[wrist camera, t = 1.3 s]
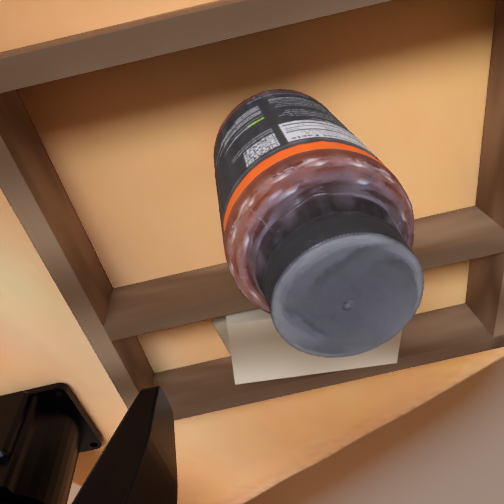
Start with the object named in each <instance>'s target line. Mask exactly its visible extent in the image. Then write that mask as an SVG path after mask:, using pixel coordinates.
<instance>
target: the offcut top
mask: <svg viewBox="0 0 504 504" xmlns="http://www.w3.org/2000/svg"><path fill="white" fill-rule="evenodd" d="M226 321H227V330H228V337H229V344H230V351H231V358H232V365H233V372H234V380H235V385H236V384H244V383H251V382H259V381H266V380H274V379H281V378H289V377H296V376H304V375H311V374H319V373H326V372H334V371H341V370H349V369H356V368H364V367H371V366H379V365H386V364H394V363H397V359H398V353H399V346H400V340H401V333H402V331H400V332H399V333H398V334H397V335H395V336H394V337H393V338H392V339H390V340H389V341H387V342H386V343H383V344H381V345H380V346H378V347H377V348H374V349H372V350H369V351H367V352H364V353H361V354H358V355H354V356H346V357H336V358H326V357H318V356H315V355H310V354H306V353H304V352H301V351H298V350H297V349H296V348H294V347H292V346H291V345H289V344H288V343H287V342H286V341H285V340H284V339H283V338H282V337H281V336H280V334H279V333H278V332H277V330H276V328H275V326H274V324H273V321H272V318H271V314H269V313H267V312H265V311H263V310H261V309H260V308H255V309H250V310H246V311H241V312H237V313H233V314H228V315H226Z"/></svg>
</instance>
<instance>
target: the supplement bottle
mask: <svg viewBox="0 0 504 504" xmlns="http://www.w3.org/2000/svg"><path fill="white" fill-rule="evenodd" d="M214 167H215V178H216V186H217V194H218V202H219V212H220V218H221V226H222V234H223V242H224V250H225V256H226V260H227V264H228V267H229V270H230V273H231V275H232V277H233V279H234V281H235V283H236V284H237V286H238V288H239V289H240V290H241V291H242V293H243V294H244V295H245V296H246V297H247V298H248V299H249V300H250V301H251V302H252V303H253V304H254V305H256V306H257V307H258V308H260V309H261V310H263V311H265V312H267V313H269V314H271V318H272V321H273V324H274V326H275V328H276V330H277V332H278V333H279V334H280V336H281V337H282V338H283V339H284V340H285V341H286V342H287V343H288V344H289V345H291V346H292V347H294V348H296V349H297V350H298V351H301V352H304V353H306V354H310V355H315V356H318V357H326V358H336V357H346V356H354V355H358V354H361V353H364V352H367V351H369V350H372V349H374V348H377V347H378V346H380V345H381V344H383V343H386V342H387V341H389V340H390V339H392V338H393V337H394V336H395V335H397V334H398V333H399V332H400V331H402V329H403V328H404V327H405V326H406V325H407V324H408V322H409V321H410V320H411V319H412V317H413V316H414V314H415V312H416V311H417V309H418V307H419V305H420V302H421V299H422V295H423V284H424V278H423V277H424V276H423V271H422V268H421V265H420V263H419V261H418V259H417V257H416V256H415V255H414V253H413V252H412V246H413V242H414V234H415V224H414V215H413V210H412V205H411V202H410V200H409V198H408V196H407V194H406V192H405V190H404V189H403V187H402V185H401V184H400V182H399V181H398V180H397V178H396V177H395V176H394V175H393V174H392V173H391V171H390V170H389V169H388V168H387V167H386V166H385V165H384V164H383V163H382V162H381V161H380V160H379V159H378V158H377V157H376V156H375V155H374V154H373V153H372V152H371V151H370V150H369V149H368V148H367V147H366V146H365V145H364V144H363V143H362V142H360V141H359V140H358V139H357V138H356V137H355V136H354V135H353V134H352V133H351V132H350V131H349V130H348V129H347V128H346V127H345V126H344V125H343V124H342V123H341V122H340V121H339V120H338V119H337V118H336V117H335V116H334V115H333V114H332V113H331V112H329V110H328V109H327V108H326V107H324V106H323V105H322V104H321V103H320V102H318V101H317V100H315V99H314V98H312V97H310V96H308V95H306V94H303V93H301V92H297V91H293V90H282V89H278V90H269V91H263V92H261V93H259V94H257V95H254V96H252V97H250V98H248V99H246V100H244V101H243V102H242V103H241V104H239V105H238V106H237V107H235V108H234V109H233V111H232V112H231V113H230V114H229V115H228V116H227V117H226V119H225V121H224V122H223V124H222V125H221V127H220V129H219V132H218V134H217V138H216V142H215V146H214Z"/></svg>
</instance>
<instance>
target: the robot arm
mask: <svg viewBox="0 0 504 504" xmlns="http://www.w3.org/2000/svg"><path fill="white" fill-rule="evenodd" d="M102 440H103V439H102V437H101V436H100V434H99V433H98V431H97V430H96V428H95V427H94V425H93V424H92V422H91V421H90V419H89V418H88V416H87V415H86V413H85V412H84V410H83V409H82V407H81V406H80V404H79V403H78V401H77V400H76V398H75V397H74V395H73V394H72V392H71V391H70V389H69V388H68V387H67V386H66V385H65V384H62V383H56V384H51V385H47V386H42V387H38V388H34V389H29V390H25V391H20V392H16V393H11V394H7V395H3V396H0V504H67V501H68V496H69V492H70V488H71V484H72V480H73V476H74V472H75V468H76V463H77V459H78V455H79V453H80V452H85V451H89V450H94V449H97V448H100V447H101V445H102ZM177 488H178V484H177V464H176V448H175V432H174V417H173V411H172V407H171V405H170V403H169V401H168V399H167V397H166V395H165V393H164V391H163V389H162V387H161V386H160V385H154V386H150V387H145V388H142V389H141V390H140V391H139V393H138V394H137V396H136V398H135V399H134V401H133V403H132V404H131V406H130V408H129V409H128V411H127V413H126V414H125V416H124V418H123V419H122V421H121V423H120V424H119V426H118V428H117V429H116V431H115V432H114V434H113V436H112V437H111V439H110V441H109V442H108V444H107V446H106V447H105V449H104V451H103V452H102V454H101V456H100V457H99V459H98V461H97V462H96V464H95V466H94V467H93V469H92V471H91V472H90V474H89V476H88V477H87V479H86V481H85V482H84V484H83V486H82V487H81V489H80V491H79V492H78V494H77V496H76V497H75V499H74V501H73V502H72V504H177Z"/></svg>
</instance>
